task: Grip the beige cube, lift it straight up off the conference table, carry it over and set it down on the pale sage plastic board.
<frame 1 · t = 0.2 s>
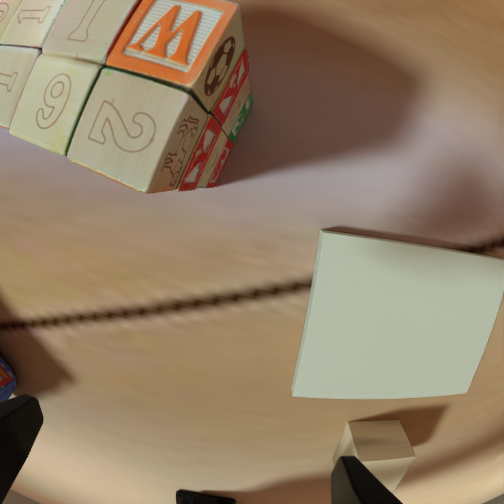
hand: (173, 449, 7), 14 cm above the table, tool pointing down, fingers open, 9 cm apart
stack of blocks: (103, 95, 19), on the table
beige cube: (365, 439, 24), on the table
sage board: (408, 324, 21), on the table
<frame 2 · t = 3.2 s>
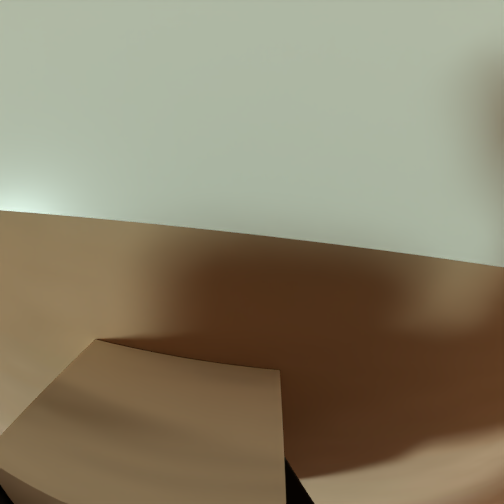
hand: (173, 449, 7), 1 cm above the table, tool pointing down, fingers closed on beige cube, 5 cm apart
beige cube: (181, 426, 8), on the table, touching gripper
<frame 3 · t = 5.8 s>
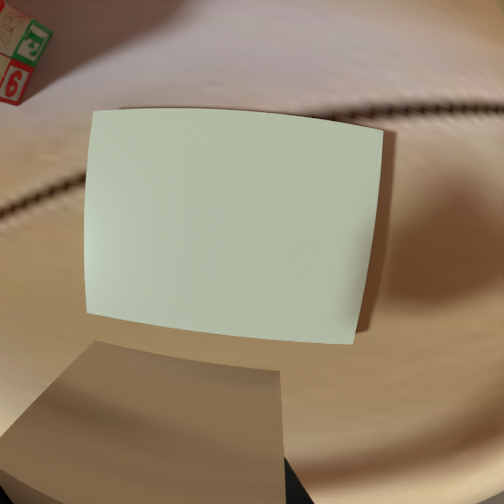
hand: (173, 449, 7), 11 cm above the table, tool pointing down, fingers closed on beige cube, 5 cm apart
beige cube: (181, 426, 8), point 10 cm above the table, touching gripper
sage board: (223, 223, 17), on the table
when the fingers open (3 cm above the table, at t = 8.4 s): beige cube drops 1 cm, resting on sage board.
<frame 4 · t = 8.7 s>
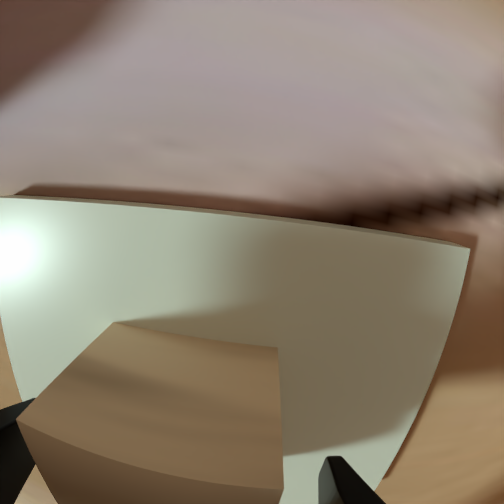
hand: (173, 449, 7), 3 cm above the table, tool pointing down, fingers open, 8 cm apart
beige cube: (189, 402, 9), point 1 cm above the table, touching sage board
sage board: (197, 381, 11), on the table
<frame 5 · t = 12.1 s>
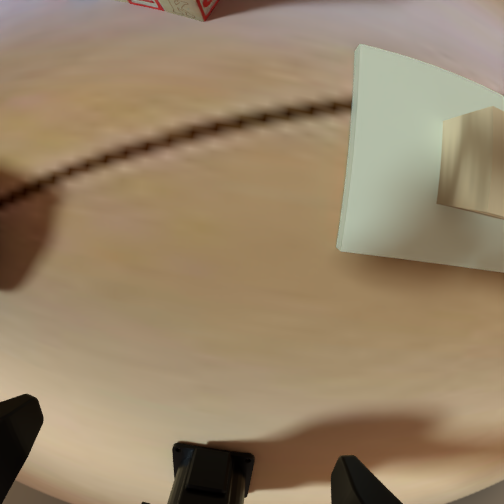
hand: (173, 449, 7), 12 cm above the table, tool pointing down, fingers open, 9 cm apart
beige cube: (472, 170, 15), point 1 cm above the table, touching sage board
sage board: (462, 170, 17), on the table
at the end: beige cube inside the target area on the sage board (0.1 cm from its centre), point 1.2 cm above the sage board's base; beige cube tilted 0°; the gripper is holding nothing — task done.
